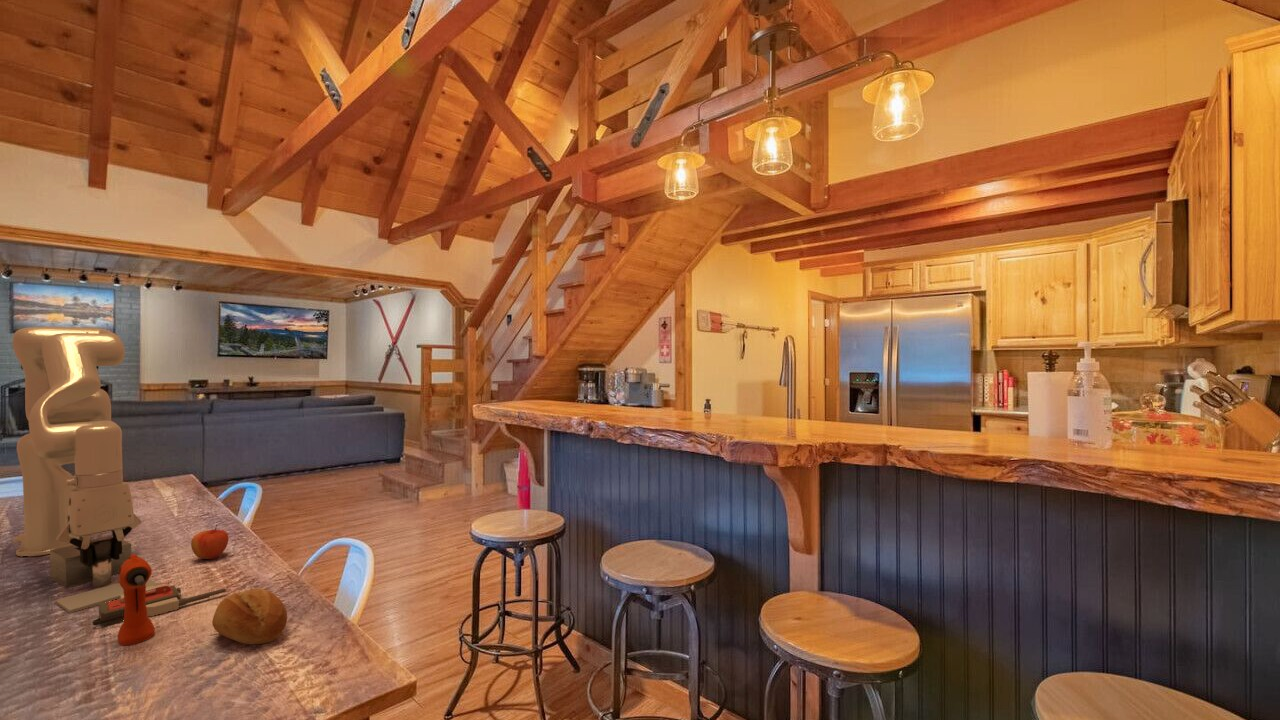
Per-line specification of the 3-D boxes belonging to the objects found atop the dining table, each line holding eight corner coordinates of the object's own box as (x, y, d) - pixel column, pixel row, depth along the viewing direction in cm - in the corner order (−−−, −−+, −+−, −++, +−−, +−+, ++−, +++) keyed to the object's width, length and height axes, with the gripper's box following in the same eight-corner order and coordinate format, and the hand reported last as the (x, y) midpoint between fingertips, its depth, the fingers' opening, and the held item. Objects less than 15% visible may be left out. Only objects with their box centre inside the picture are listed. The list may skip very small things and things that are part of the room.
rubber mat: (55, 603, 113) (55, 600, 113) (142, 578, 125) (142, 576, 125) (69, 613, 108) (69, 610, 108) (159, 586, 120) (159, 584, 120)
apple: (184, 561, 135) (184, 529, 135) (217, 551, 142) (216, 520, 142) (203, 565, 132) (202, 532, 132) (235, 555, 139) (234, 523, 139)
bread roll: (243, 660, 91) (242, 612, 91) (197, 639, 98) (196, 595, 98) (301, 633, 100) (301, 590, 100) (255, 616, 107) (254, 575, 106)
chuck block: (50, 578, 126) (49, 550, 126) (114, 562, 135) (113, 536, 135) (66, 588, 120) (65, 558, 120) (131, 570, 130) (131, 543, 130)
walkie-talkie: (93, 635, 100) (227, 598, 115) (92, 611, 100) (227, 577, 115) (90, 619, 106) (218, 586, 121) (89, 597, 106) (217, 566, 121)
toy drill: (123, 665, 87) (120, 569, 88) (116, 638, 100) (113, 555, 101) (163, 652, 91) (160, 560, 92) (152, 628, 104) (149, 548, 105)
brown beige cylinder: (85, 588, 120) (83, 543, 120) (101, 581, 124) (100, 537, 124) (102, 588, 120) (101, 542, 120) (118, 580, 124) (117, 537, 124)
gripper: (51, 490, 113) (53, 578, 113) (154, 474, 127) (156, 552, 127) (40, 486, 116) (42, 571, 117) (141, 471, 131) (143, 547, 131)
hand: (101, 561), depth 122 cm, fingers closed on brown beige cylinder, 3 cm apart
